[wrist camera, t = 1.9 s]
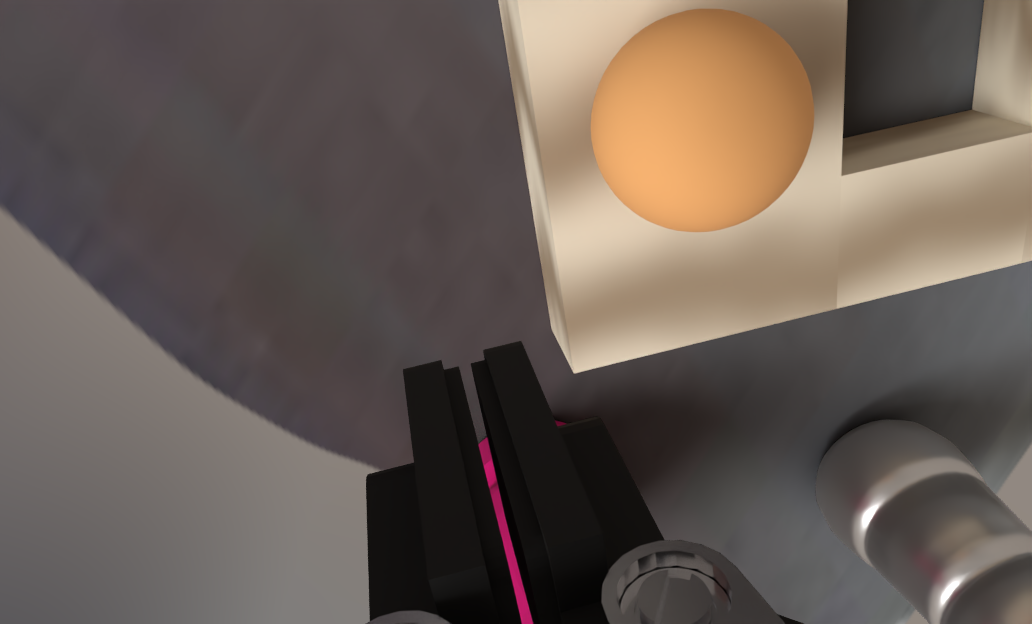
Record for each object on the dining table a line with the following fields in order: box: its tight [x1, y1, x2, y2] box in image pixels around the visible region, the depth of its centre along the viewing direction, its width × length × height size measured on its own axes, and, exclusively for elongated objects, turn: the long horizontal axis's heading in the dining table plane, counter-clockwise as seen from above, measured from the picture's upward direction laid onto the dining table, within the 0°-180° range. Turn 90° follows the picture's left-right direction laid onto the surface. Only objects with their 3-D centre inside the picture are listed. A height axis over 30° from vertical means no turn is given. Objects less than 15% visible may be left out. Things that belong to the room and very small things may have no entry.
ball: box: [591, 8, 814, 232], centre depth 22 cm, size 6×6×6 cm
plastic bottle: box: [815, 420, 1032, 624], centre depth 29 cm, size 6×7×20 cm
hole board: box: [498, 0, 1032, 373], centre depth 26 cm, size 18×20×4 cm
